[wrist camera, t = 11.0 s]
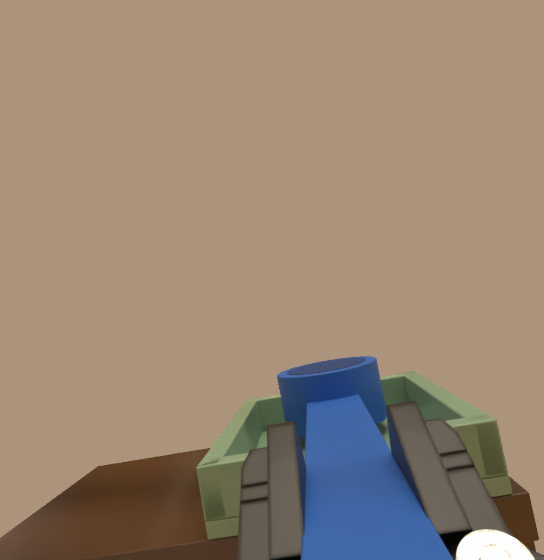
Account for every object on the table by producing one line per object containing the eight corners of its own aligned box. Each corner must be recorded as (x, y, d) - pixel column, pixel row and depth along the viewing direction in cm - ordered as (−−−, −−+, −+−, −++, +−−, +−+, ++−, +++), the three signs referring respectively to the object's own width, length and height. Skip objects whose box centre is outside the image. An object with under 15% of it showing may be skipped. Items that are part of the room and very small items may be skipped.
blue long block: (289, 419, 26) (280, 368, 26) (379, 403, 26) (369, 352, 26) (227, 739, 7) (193, 532, 7) (593, 693, 6) (545, 477, 6)
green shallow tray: (251, 440, 28) (244, 399, 28) (424, 412, 27) (415, 370, 27) (205, 540, 16) (193, 467, 16) (515, 494, 15) (499, 418, 15)
